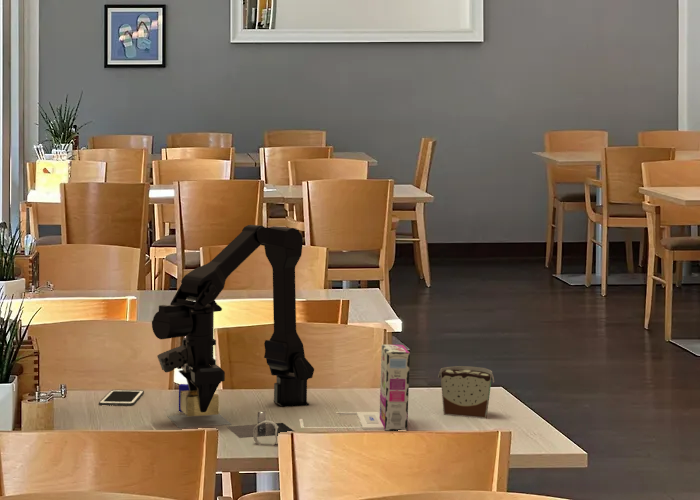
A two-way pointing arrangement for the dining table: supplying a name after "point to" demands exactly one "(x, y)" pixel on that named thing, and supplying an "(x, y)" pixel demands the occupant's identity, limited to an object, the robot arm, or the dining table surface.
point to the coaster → (198, 420)
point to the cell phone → (121, 397)
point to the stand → (258, 428)
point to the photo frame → (360, 420)
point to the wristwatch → (266, 422)
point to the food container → (465, 391)
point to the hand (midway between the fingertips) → (199, 408)
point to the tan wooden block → (197, 404)
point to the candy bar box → (394, 387)
